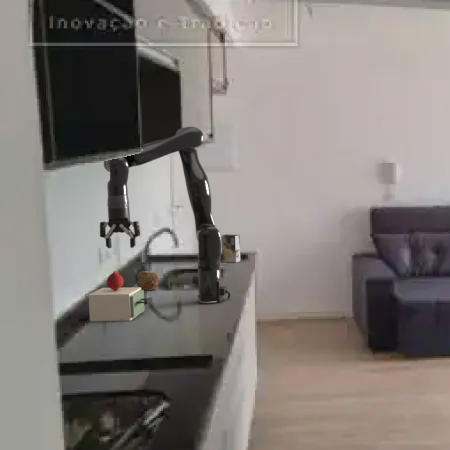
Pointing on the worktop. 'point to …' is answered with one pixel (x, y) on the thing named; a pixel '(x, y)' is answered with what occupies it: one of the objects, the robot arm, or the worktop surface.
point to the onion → (115, 281)
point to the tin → (147, 280)
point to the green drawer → (138, 303)
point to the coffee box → (230, 248)
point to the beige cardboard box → (111, 304)
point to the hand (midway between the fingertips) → (120, 247)
